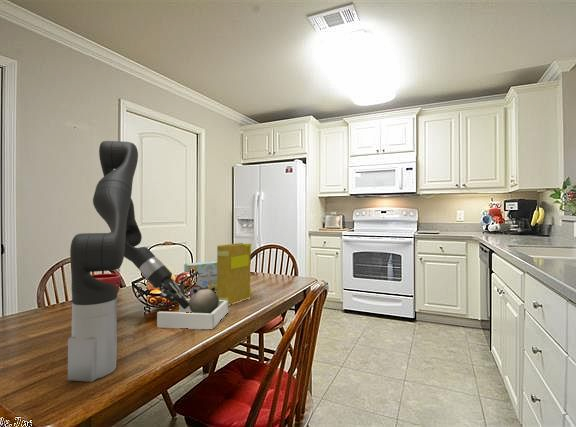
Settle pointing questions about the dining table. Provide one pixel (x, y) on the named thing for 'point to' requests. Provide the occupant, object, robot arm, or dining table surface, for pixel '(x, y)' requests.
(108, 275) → the plant pot
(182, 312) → the box
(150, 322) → the dining table surface
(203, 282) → the snack box
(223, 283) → the book
